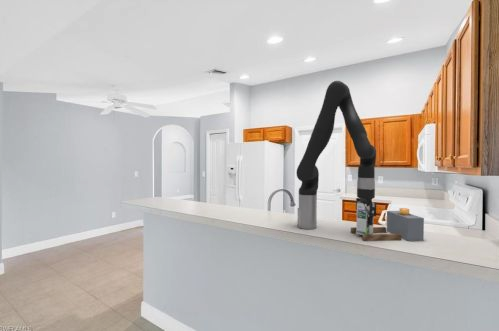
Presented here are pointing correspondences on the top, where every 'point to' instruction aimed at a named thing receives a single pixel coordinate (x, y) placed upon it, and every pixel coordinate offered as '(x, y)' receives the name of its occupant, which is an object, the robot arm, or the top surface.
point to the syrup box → (363, 220)
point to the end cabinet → (406, 226)
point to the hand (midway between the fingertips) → (365, 222)
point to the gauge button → (403, 211)
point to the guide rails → (378, 235)
